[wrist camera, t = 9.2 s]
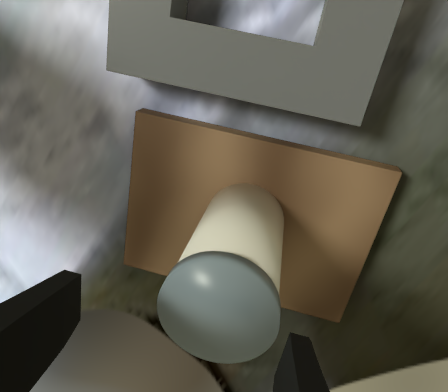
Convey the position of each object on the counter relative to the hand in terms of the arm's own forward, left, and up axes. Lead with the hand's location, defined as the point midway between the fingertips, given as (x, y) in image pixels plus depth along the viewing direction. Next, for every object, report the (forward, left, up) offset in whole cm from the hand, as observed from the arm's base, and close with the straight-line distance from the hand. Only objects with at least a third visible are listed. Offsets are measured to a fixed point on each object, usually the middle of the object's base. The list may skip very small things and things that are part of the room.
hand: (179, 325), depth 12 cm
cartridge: (+1, 0, -9) cm, 9 cm away
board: (+1, -1, -10) cm, 10 cm away
